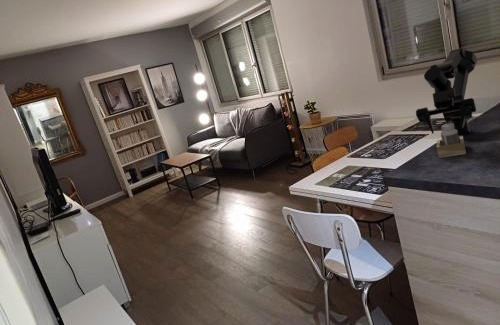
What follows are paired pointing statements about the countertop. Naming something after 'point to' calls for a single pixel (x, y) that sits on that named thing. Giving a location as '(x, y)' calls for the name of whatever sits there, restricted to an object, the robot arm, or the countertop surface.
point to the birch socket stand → (451, 148)
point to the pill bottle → (449, 134)
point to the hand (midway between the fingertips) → (447, 130)
